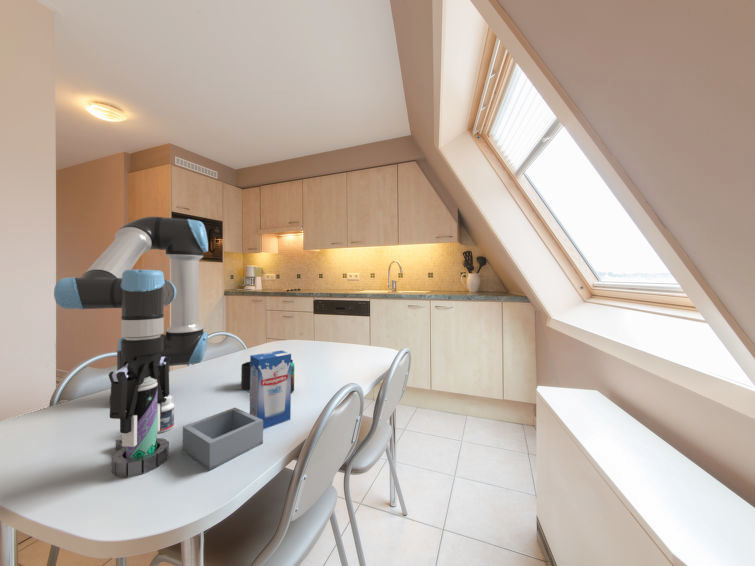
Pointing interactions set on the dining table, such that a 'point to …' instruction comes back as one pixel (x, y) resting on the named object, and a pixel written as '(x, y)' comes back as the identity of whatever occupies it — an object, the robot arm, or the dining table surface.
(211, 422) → the bin
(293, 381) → the beverage can
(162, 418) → the pill bottle
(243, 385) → the mug
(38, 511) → the dining table surface
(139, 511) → the dining table surface
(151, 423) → the spray can
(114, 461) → the socket ring
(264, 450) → the dining table surface
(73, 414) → the dining table surface
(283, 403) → the milk carton
